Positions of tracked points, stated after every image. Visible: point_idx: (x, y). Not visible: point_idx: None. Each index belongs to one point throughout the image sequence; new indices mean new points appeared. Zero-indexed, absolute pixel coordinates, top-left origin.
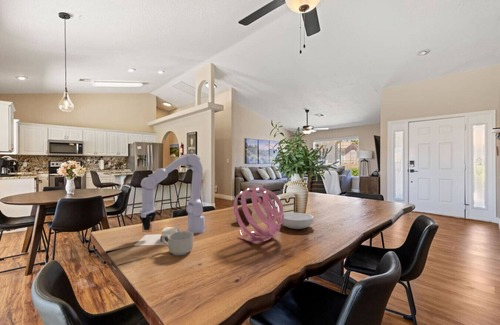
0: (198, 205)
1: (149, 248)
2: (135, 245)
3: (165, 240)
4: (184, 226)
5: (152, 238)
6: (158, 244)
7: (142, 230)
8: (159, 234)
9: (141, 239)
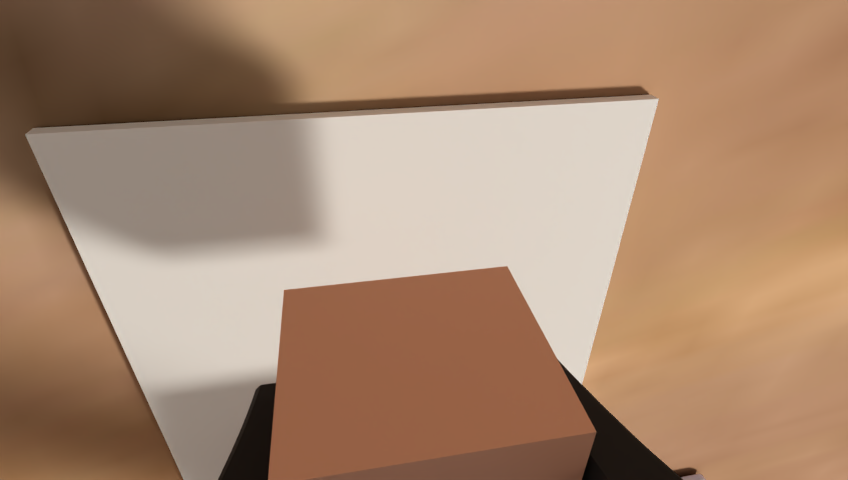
0: None
1: (31, 378)
2: (39, 163)
3: None
4: (843, 406)
5: None
6: (174, 431)
7: (284, 321)
8: (603, 297)
9: (387, 132)
